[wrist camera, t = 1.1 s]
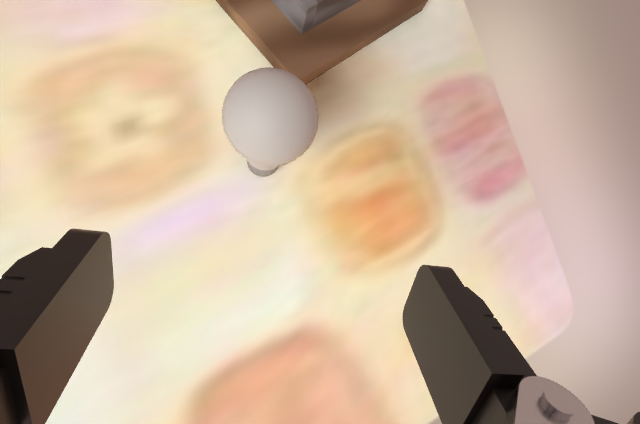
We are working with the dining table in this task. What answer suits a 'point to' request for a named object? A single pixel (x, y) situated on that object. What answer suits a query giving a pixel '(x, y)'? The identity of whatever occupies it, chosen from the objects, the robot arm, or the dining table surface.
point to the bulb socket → (316, 29)
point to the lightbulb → (269, 118)
